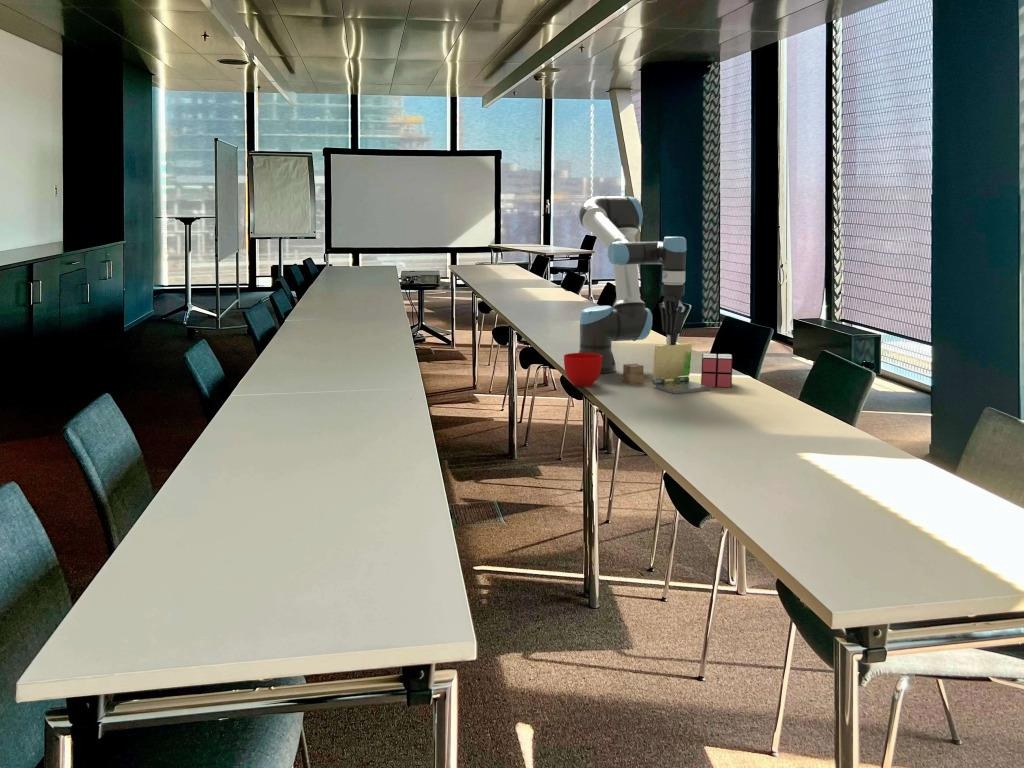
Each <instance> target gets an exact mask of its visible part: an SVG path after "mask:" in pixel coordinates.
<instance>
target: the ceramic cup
mask: <svg viewBox="0 0 1024 768" xmlns="http://www.w3.org/2000/svg"><path fill="white" fill-rule="evenodd" d="M563 364H564V372H565V375H566V377H567V379H568V380H569V382H570V383H571V384H572V386H574V387H584V388H585V387H586V388H587V387H591V386H593V385H594V384H595V382H596V381H597V380H598V379H599V376H600V375H601V373H600V372H601V367H602V355H599V354H593V353H579V352H572V353H571V352H570V353H567V354H564V355H563Z"/></svg>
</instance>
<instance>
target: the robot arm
mask: <svg viewBox="0 0 1024 768" xmlns="http://www.w3.org/2000/svg"><path fill="white" fill-rule="evenodd" d="M643 212H644V211H643V208H642V205H641V203H640V201H639V200H638V198H636V197H635V196H626V195H622V196H621V195H620V196H619V195H618V196H616V195H615V196H614V195H613V196H611V195H610V196H607V195H606V196H604V195H602V196H601V195H600V196H599V195H597V196H593V197H590V198H589V199H587V200H586V201H585V202H584V203H583V204H582V206H581V207H580V209H579V212H578V213H579V214H578V217H579V218H578V219H579V222H580V224H581V226H582V227H583V228H584V229H585V231H587V232H589V233H592V234H594V236H595V237H596V238H597V239H598V240H599V241H600V243H601V244H602V245H603V246H604V247H605V248H606V249H607V258H608V261H609V262H610V264H612V265H613V273H614V282H615V293H616V296H615V297H616V302H615V303H614V305H613V307H612V306H611V305H598V306H597V305H596V306H595V305H594V306H590V307H586V308H584V309H582V310H581V312H580V314H579V315H580V317H579V349H578V353H593V354H599V355H602V367H601V372H600V374H608V373H609V374H610V373H614V372H616V371H617V370H616V369H617V364H616V361H615V358H614V354H613V351H612V342H624V341H625V342H626V341H630V342H631V341H633V342H636V341H640V340H641V341H643V340H645V339H646V338H648V336H649V335H650V333H651V330H652V327H653V313H652V311H651V309H649V308H648V307H646V302H644V301H643V300H642V299H641V293H640V283H639V280H640V279H639V272H638V269H639V268H638V265H662V275H661V276H662V277H661V278H662V280H661V282H662V283H663V284H662V285H661V295H662V296H664V298H663V301H662V302H659V303H658V307H659V309H660V310H659V311H660V318H661V327H662V332H663V333H665V335H666V345H676V344H677V335H679V334H680V335H681V333H682V328H683V323H684V318H685V313H686V311H687V309H688V308H687V306H685V305H684V304H683V300H682V297H683V296H685V294H686V293H685V292H686V291H685V289H686V286H685V282H686V265H687V263H686V261H687V250H688V249H687V239H686V238H685V237H684V236H664V239H663V240H654V241H636V239H635V235H636V234H637V233H638V232H639V228H640V227H641V226H642V225H643V219H644V215H643V214H644V213H643Z"/></svg>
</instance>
